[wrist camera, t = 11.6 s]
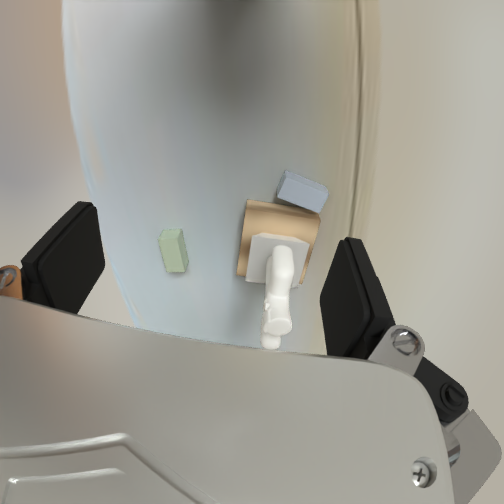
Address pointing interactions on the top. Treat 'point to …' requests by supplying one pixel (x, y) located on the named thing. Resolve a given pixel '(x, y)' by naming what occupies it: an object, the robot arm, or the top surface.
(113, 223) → the top surface
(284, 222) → the oak pedestal
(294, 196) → the brick slate
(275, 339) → the figurine
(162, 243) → the brick sage
